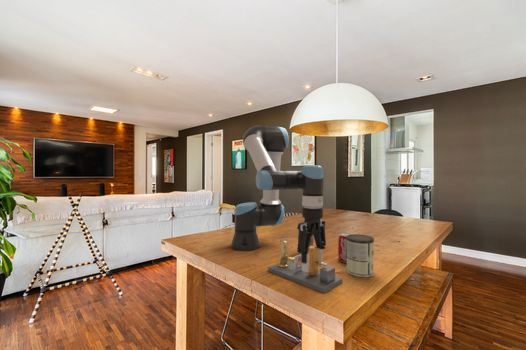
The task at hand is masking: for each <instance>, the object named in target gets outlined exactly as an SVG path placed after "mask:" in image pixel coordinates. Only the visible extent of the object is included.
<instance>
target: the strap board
mask: <svg viewBox="0 0 526 350" xmlns="http://www.w3.org/2000/svg"><path fill="white" fill-rule="evenodd" d="M287 263H289V264H290V266H289V267H287V268H281V267H278V263H276V264H273V265H270V266H269V267H268V268H267V271H268V272H270V273H273V274H275V275H277V276H280V277H283V278H285V279H288V280H289V281H292V282H295V283H298V284H300V285H303V286H305V287H308V288H310V289H311V290H315V291H317V292H319V293H322V294H325V293H327V292H328V291H330V290H332V289H334V288H336V287H337V286H339V285H341V284H342V283H343V278H342V277H339V276H337V275H335V281H333V282H331V283H329V284H324V283H322V282H320V269H318V274H316V275H314V276H312V275H310V274H307V273H306V272H304V271H302V269H299V270H297V271H294V262H291V261H289V260H287ZM299 265H301V263H300V264H299V263H298V266H299Z"/></svg>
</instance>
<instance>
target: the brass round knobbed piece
mask: <svg viewBox="0 0 526 350" xmlns="http://www.w3.org/2000/svg"><path fill="white" fill-rule="evenodd" d="M287 260H288V261H291V262H294V257H290V256H288V240H285V239H282V240H280V241H279V262H278V263H277V264H278V267H281V268H287V267H289V266H290V264H289V263H287Z"/></svg>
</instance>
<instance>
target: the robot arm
mask: <svg viewBox="0 0 526 350" xmlns="http://www.w3.org/2000/svg"><path fill="white" fill-rule="evenodd" d="M289 139H290V136H289V134H288V131H287V129H286V128H284V127H280V126H270V125H257V124H256V125H253V126H251V127H250V128H248V129H247V130H246V131H245V132H244V134H243V137H242V143H243V147H244V149H245V150H246V151H248V153H249V155H250V158H251V160H252V161H253V164H254V167H255V169H256V171H257V172H256V175H255V186H256V188H257V189H258V190H260V191H262V198H261V199H260V201H259V204H257V202H256V201H254V202H253V201H251V202H250V201H249V202H244V203H239V204H237V205H236V206H235V207H234V234H233V236H232V241H231V243H230V244H231V248H232V249H233V250H235V251H244V252H245V251H246V252H247V251H254V250H258V249H259V248H260V244H261V243H260V240H259V237H258V233H257V228H258V227H269V226H270V227H275V226H278V225H281V224H282V223H283V221H284V219H285V214H286V213H285V211H286V210H285V207H284V205H283V204H282V201H281V200H280V199H279V198H280V195H279V194H280V190H282V191H285V190H286V191H288V190H290V191H292V190H296V191H297V190H301V191H302V196H301V197H302V199H301V200H302V201H301V204H302V205H301V206H302V209H301V211H302V212H301V215H302V218H304V224H303V225H299V238H298V237H297V240H298V241H297V250H296V251H297V253H301V258H302V259H301V258H300V263H301V262H302V271H304V272H307V273H309V254H308V250H309V246H310V241H311V237H312V236H313V235H314V242H315V243H314V244H315V247H318V261H320V262H323V250H325V249H326V246H327V242H326V241H327V239H326V238H327V237H326V230H325V228H326V227H325V225H326V221H325V220H322V219H323V218H324V208H323V206H324V196H323V195H324V179H325V178H324V177H325V176H324V168H323V166H321V165H304V166H303V167H302V170H281V165H282V164H281V163H282V161H281V160H282V155H283V154H284V153H285V150H286V149H288V147H289V144H290V143H289V141H290V140H289ZM308 232H309V233H308ZM318 267H320V268H323V265H320V264H318Z"/></svg>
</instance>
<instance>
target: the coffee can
mask: <svg viewBox="0 0 526 350" xmlns="http://www.w3.org/2000/svg"><path fill="white" fill-rule="evenodd" d="M346 238H347V263H346V272H347V273H348V274H349V275H352V276H355V277H359V278H371V277H373V276H374V274H375V272H374V253H375V252H374V247H375V246H374V244H375V243H374V242H375V238H374V237H373V236H370V235H367V234H361V233H359V234H358V233H356V234H352V235H347V236H346Z"/></svg>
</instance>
